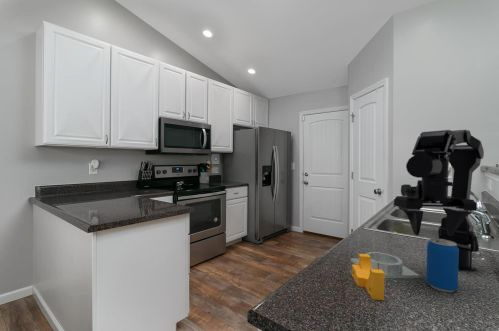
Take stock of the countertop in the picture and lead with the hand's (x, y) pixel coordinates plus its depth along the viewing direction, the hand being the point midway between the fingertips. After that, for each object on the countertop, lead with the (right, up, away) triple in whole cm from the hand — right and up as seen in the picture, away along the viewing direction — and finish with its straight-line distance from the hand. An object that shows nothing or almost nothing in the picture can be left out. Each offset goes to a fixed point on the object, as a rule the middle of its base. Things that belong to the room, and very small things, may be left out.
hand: (432, 235), depth 65 cm
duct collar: (-9, -13, +8) cm, 18 cm away
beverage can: (+1, -13, -2) cm, 14 cm away
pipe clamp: (-19, -13, -2) cm, 23 cm away
